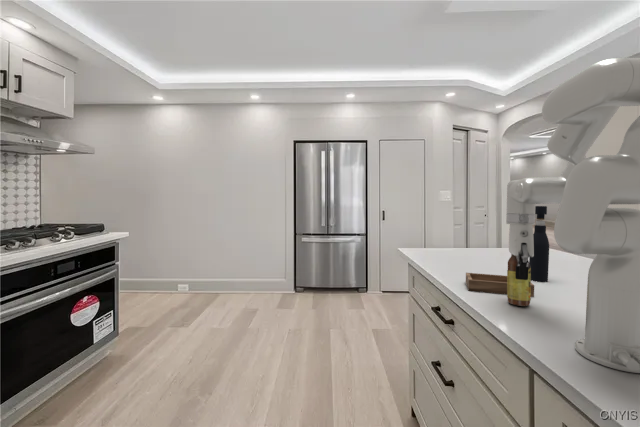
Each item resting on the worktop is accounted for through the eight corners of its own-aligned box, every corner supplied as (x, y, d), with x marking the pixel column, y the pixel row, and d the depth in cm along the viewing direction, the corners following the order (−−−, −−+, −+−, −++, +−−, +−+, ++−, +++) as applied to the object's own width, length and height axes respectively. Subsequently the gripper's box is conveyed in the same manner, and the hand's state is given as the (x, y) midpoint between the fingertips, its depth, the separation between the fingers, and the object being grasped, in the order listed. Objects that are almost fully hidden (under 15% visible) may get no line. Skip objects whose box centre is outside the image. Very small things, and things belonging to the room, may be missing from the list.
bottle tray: (533, 297, 105) (534, 285, 105) (468, 290, 112) (468, 279, 112) (524, 287, 116) (525, 277, 115) (465, 282, 123) (465, 272, 122)
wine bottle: (531, 281, 124) (534, 206, 123) (526, 277, 130) (529, 205, 129) (550, 282, 122) (553, 206, 121) (544, 278, 128) (547, 206, 127)
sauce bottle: (534, 307, 94) (536, 242, 93) (511, 306, 95) (513, 242, 94) (524, 300, 101) (526, 239, 100) (503, 299, 102) (504, 239, 101)
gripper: (543, 221, 88) (541, 284, 88) (526, 218, 104) (525, 271, 105) (513, 221, 90) (511, 282, 91) (501, 217, 106) (499, 270, 107)
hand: (518, 276), depth 98 cm, fingers closed on sauce bottle, 6 cm apart
